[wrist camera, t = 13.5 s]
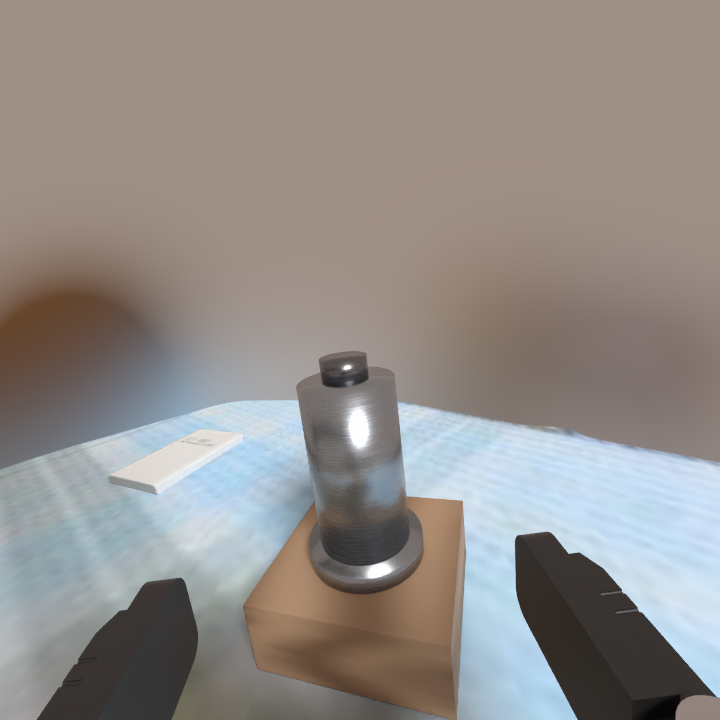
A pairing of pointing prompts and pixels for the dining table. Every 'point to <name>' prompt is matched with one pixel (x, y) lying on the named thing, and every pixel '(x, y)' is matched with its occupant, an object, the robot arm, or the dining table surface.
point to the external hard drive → (175, 461)
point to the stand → (369, 620)
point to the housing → (357, 477)
